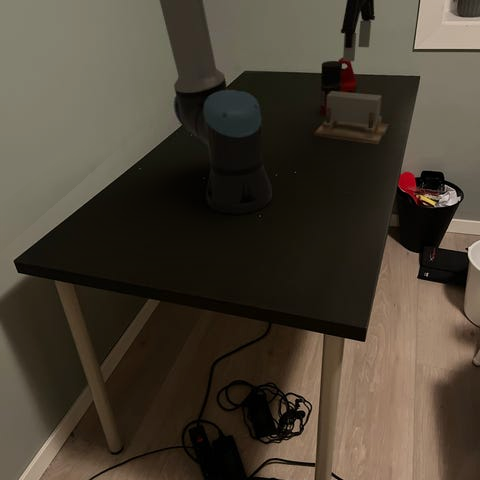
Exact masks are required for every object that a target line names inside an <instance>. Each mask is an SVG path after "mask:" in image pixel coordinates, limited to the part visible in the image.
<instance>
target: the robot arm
mask: <svg viewBox="0 0 480 480" xmlns="http://www.w3.org/2000/svg"><path fill="white" fill-rule="evenodd" d="M159 3H160V8H161V11H162V16H163V20H164V23H165V29H166V32H167V35H168V36H167V37H168V40H169V44H170V48H171V52H172V55H173V60H174V64H175V69H176V72H177V76H178V77H177V80H176V81H175V83H174V85H173V88H174V92H175V96H174V100H173V109H174V113H175V117H176V118H177V120H178V121H179V124H181V126H182V127H183V128H184V129H186V130H185V131H187V132H189V133H191V134H193V136H195V137H196V138H198V139H199V140H200V141H202V142H203V143H204V144H205V145H206V146H207V148H208V154H209V155H208V156H209V163H210V172H209V178H208V181H207V186H206V192H205V193H206V201H207V204H208V206H209V207H210V208H212V209H213V210H215V211H217V212H219V213H222V214H226V215H227V214H228V215H243V214H249V213H252V212H256V211H259V210H261V209H262V208H265V207H266V206H267V205H268V204H269V203H270V202H271V200H272V197H273V192H272V189H273V188H272V184H271V181H270V180H269V177H268V174H267V171H266V170H265V167H264V163H263V161H264V160H263V159H264V158H263V144H262V143H263V141H262V114H261V108H260V104H259V102H258V100H257V98H256V97H255V96H253V95H252V94H251V93H248V92H246V91H243V90H240V91H238V90H237V89H236V90H235V89H228V88H227V87H228V86H227V81H226V78H225V74H224V73H223V72H221V71H220V70H218V69H217V66H216V61H215V57H214V51H213V46H212V42H211V37H210V31H209V27H208V26H209V24H208V21H207V16H206V15H207V14H206V11H205V5H204V1H203V0H159ZM345 5H346V6H345V11H344V14H343V15H344V16H343V20H342V25H341V26H342V27H341V29H340V34H344V39H343V52H342V56H343V57H342V58H343V61H350V62H355V58H356V57H355V55H356V44H357V32H356V30H357V27H358V25H357V24H358V22H359V35H358V48H369V47H370V38H371V29H372V28H371V27H372V21H375V19H376V15H375V0H346V4H345ZM360 16H361V20H360V21H359V18H360Z"/></svg>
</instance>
